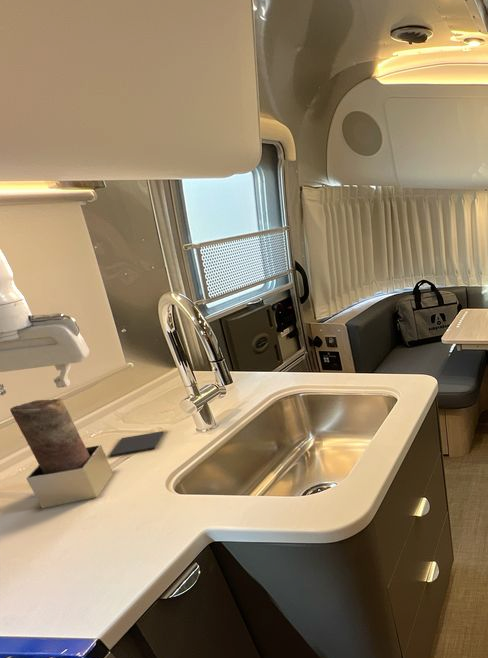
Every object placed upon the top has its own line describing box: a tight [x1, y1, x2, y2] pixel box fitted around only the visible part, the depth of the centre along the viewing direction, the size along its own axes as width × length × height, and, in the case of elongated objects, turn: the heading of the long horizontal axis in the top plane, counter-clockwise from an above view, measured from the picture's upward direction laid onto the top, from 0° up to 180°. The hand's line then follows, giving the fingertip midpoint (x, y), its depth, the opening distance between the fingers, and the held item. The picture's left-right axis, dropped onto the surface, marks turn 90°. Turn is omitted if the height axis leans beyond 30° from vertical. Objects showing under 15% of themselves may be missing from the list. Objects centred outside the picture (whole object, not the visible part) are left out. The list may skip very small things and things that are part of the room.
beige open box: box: [26, 444, 114, 509], centre depth 98 cm, size 9×10×7 cm
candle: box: [9, 398, 90, 474], centre depth 96 cm, size 8×7×20 cm
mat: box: [110, 431, 164, 457], centre depth 116 cm, size 8×8×1 cm
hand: (32, 390), depth 90 cm, fingers open, 8 cm apart
